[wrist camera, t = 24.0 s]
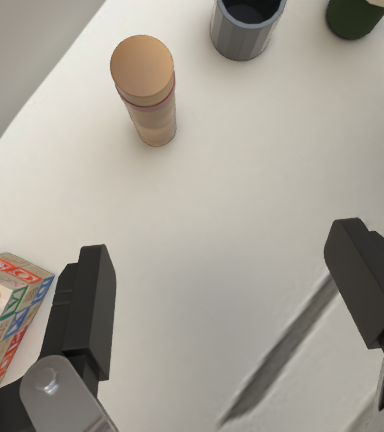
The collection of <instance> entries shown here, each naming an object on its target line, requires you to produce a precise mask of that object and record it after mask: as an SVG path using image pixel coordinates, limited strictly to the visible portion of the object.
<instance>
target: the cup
mask: <svg viewBox="0 0 384 432" xmlns="http://www.w3.org/2000/svg"><path fill="white" fill-rule="evenodd" d="M286 1H287V0H214V6H213V12H212V19H211V39H212V42H213V44H214V46H215V48H216V49H217V50H218V51H219V52H220V53H221V54H222V55H223V56H225V57H226V58H228V59H231V60H235V61H246V60H250V59H253V58H254V57H256V56H258V55H259V54H260V53H261V52H262V51H263V50H264V48H265V47H266V45H267V44H268V42H269V40H270V38H271V36H272V33H273V31H274V29H275V27H276V25H277V23H278V21H279V19H280V17H281V15H282V13H283V10H284V7H285V4H286Z"/></svg>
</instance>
